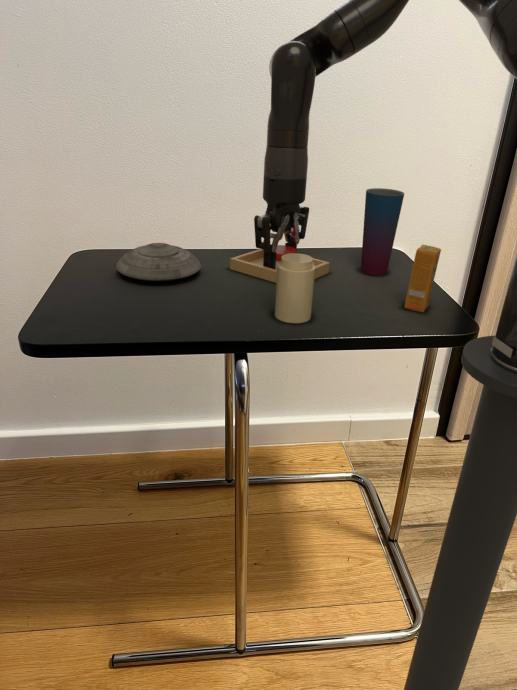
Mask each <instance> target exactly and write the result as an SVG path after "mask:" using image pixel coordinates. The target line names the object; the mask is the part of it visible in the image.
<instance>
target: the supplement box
mask: <svg viewBox="0 0 517 690" xmlns="http://www.w3.org/2000/svg"><path fill="white" fill-rule="evenodd" d="M441 252H442V249H441V248H440V247H437V246H434V245H433V246H431V245H427V244H421V246H420V247H417V249H416V251H415V255H414V260H413V265H412V268H411V273H410V278H409V281H408V287H407V292H406V297H405V302H404V309H406V310H410V311H414V312H418V313H425V311H426V310H427V308H428V307H429V304H430V303H429V302H430V299H431V294H432V290H433V285H434V282H435V277H436V273H437V269H438V264H439V260H440V256H441Z"/></svg>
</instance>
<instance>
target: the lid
mask: <svg viewBox="0 0 517 690" xmlns="http://www.w3.org/2000/svg"><path fill="white" fill-rule="evenodd" d="M275 252H276V261H281V256H283V255H285V254H290V253H298V252H296V249H295V248H294V247H291V246H285V244H283V245H282V244H278V245H277V249H276V251H275Z"/></svg>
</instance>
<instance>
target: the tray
mask: <svg viewBox="0 0 517 690" xmlns="http://www.w3.org/2000/svg"><path fill="white" fill-rule="evenodd" d="M312 258H313V262H314V263H313V264H314V265H315V267H316V270H315V280H317V279H318V278H321V277H323V276H325V275H327V274H329V273H330V265H331V264H330V263H331V262H329V261H326V260H321V259H317V258H314V257H312ZM263 259H264V251H263V249H259V248H258V249H256V250H253V251H249V252H246V253H243V254H240V255H237V256H234V257H230V258H229V269H230V270H232V271H235V272H237V273H241V274H244V275H248V276H251V277H255V278H258V279H262V280H265V281H267V282H271V283H275V284H276V282H277V266H278V263H280V262H281V261H276V269H271V268H268V267H264V266H263Z"/></svg>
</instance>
